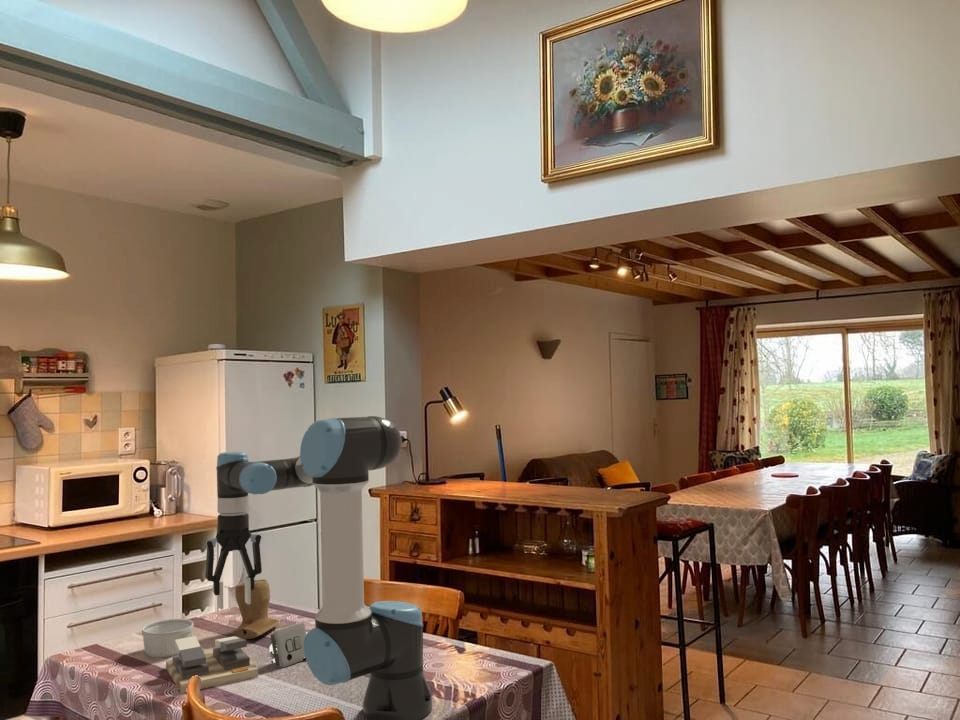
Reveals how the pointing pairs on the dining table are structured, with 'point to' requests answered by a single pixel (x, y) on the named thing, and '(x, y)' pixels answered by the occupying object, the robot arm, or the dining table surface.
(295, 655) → the electrical switch
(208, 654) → the switch board
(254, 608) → the tan piece
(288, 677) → the dining table surface
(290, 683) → the dining table surface
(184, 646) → the rocker
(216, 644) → the rocker
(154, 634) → the ramekin
